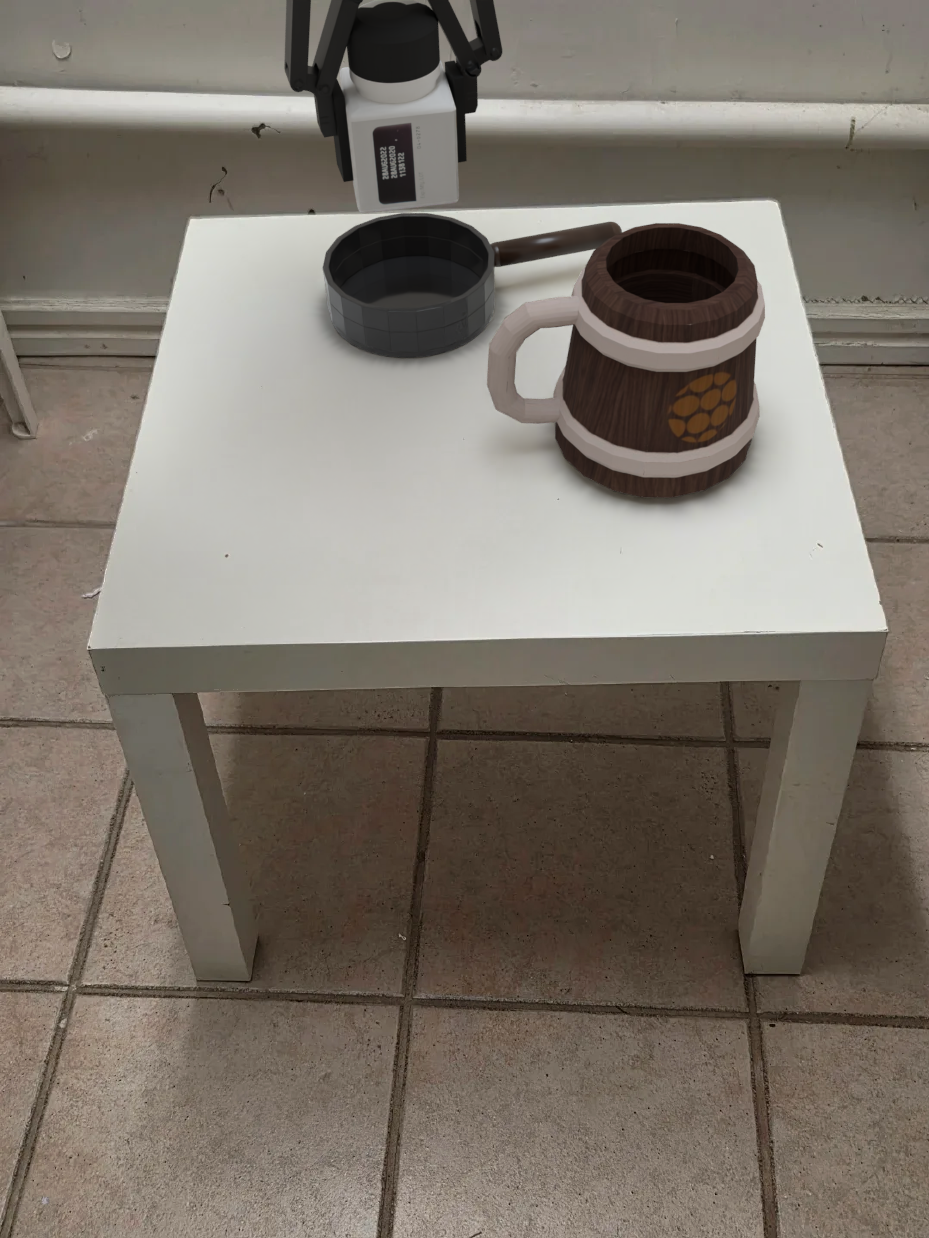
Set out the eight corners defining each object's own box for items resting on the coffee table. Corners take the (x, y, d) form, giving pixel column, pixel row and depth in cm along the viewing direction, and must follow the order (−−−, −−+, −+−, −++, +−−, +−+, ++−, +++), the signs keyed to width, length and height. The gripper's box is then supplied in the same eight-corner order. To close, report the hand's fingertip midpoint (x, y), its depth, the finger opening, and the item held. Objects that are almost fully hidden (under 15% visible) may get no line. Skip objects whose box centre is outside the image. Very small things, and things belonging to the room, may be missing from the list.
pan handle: (488, 274, 99) (488, 253, 98) (482, 260, 101) (481, 239, 99) (624, 248, 101) (626, 228, 100) (616, 236, 102) (618, 215, 101)
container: (460, 204, 90) (454, 30, 80) (358, 216, 90) (339, 41, 80) (445, 152, 95) (437, -18, 85) (349, 163, 94) (330, -8, 84)
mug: (724, 364, 95) (754, 192, 83) (777, 496, 85) (818, 322, 74) (476, 388, 94) (471, 217, 82) (501, 524, 84) (499, 352, 73)
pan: (347, 372, 96) (341, 325, 92) (316, 274, 104) (309, 229, 101) (515, 339, 98) (515, 293, 94) (469, 247, 106) (468, 201, 103)
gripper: (520, -219, 77) (518, 117, 95) (199, -179, 74) (258, 160, 92) (556, -182, 73) (547, 164, 90) (214, -138, 70) (274, 212, 87)
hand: (401, 162), depth 91 cm, fingers closed on container, 8 cm apart
